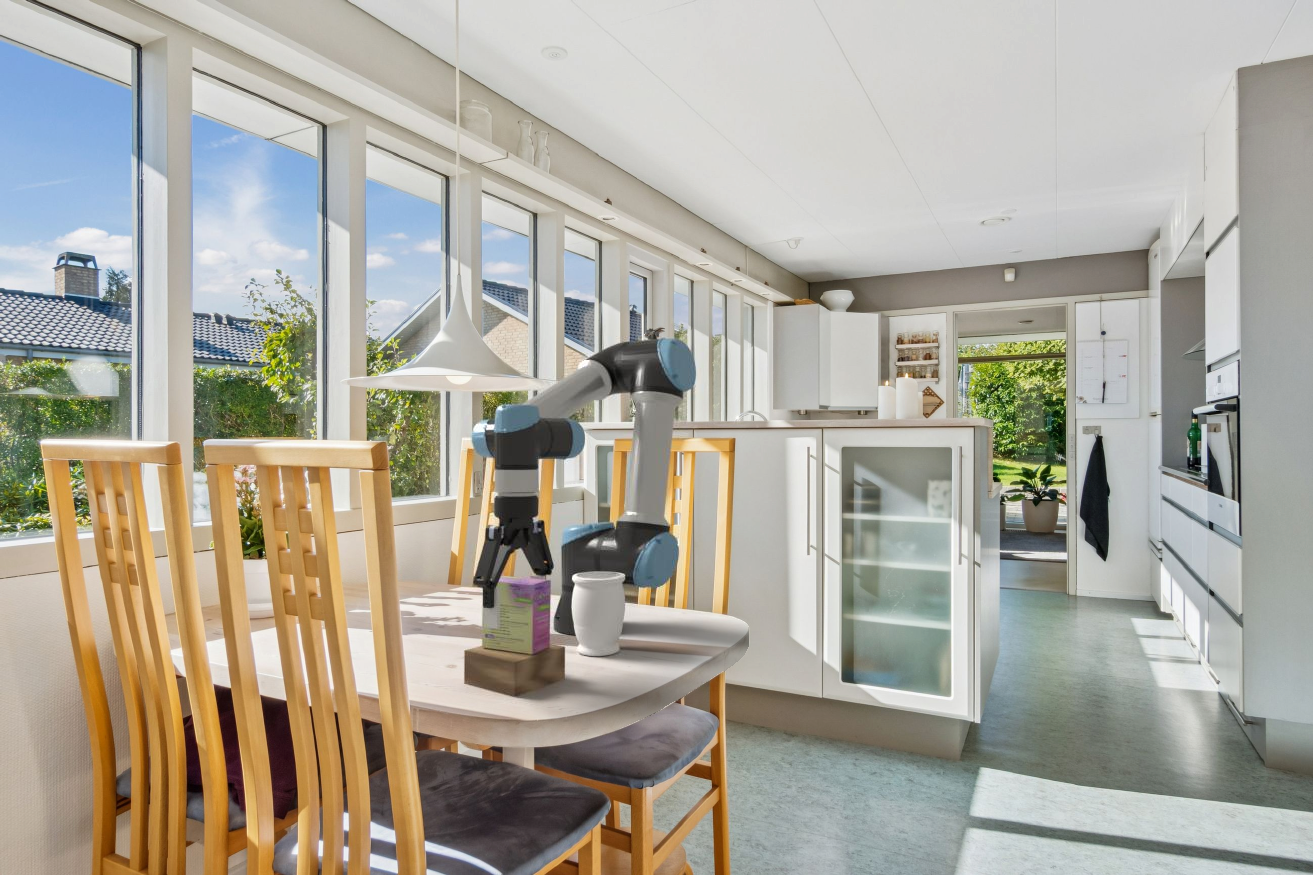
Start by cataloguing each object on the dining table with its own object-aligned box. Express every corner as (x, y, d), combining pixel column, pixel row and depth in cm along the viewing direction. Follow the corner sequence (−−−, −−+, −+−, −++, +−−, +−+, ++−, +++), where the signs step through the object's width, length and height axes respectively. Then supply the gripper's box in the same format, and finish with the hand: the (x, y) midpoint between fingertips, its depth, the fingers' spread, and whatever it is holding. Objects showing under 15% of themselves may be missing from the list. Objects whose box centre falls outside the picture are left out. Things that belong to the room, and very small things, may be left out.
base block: (515, 669, 141) (515, 636, 141) (564, 681, 134) (565, 646, 135) (464, 685, 132) (464, 650, 132) (514, 699, 125) (514, 662, 125)
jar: (597, 641, 160) (598, 568, 160) (635, 650, 153) (636, 574, 153) (560, 652, 152) (560, 575, 152) (598, 661, 145) (599, 581, 145)
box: (551, 647, 134) (551, 578, 134) (532, 655, 129) (532, 584, 129) (501, 641, 138) (501, 574, 138) (481, 648, 133) (481, 579, 133)
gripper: (539, 490, 146) (538, 604, 146) (451, 497, 124) (450, 632, 124) (573, 491, 143) (572, 607, 143) (488, 499, 121) (488, 637, 121)
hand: (515, 619), depth 133 cm, fingers open, 12 cm apart
